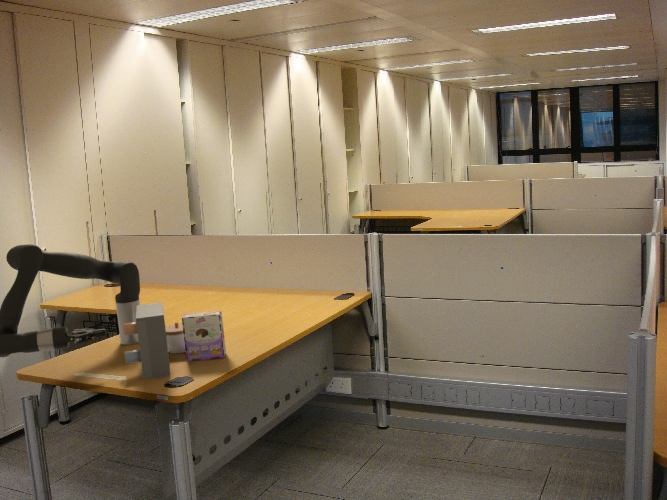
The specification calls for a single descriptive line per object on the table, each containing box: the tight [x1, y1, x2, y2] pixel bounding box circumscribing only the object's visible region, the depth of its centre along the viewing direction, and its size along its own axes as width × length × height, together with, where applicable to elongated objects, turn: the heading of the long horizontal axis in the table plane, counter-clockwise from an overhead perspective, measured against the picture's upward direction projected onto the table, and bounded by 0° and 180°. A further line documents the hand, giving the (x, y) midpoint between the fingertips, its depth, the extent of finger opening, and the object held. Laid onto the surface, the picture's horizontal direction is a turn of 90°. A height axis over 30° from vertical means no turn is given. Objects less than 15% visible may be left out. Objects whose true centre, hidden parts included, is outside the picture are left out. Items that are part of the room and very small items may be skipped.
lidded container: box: [165, 321, 186, 354], centre depth 253 cm, size 13×13×11 cm
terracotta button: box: [124, 322, 137, 335], centre depth 235 cm, size 6×4×4 cm, turn 105°
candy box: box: [181, 310, 227, 362], centre depth 240 cm, size 14×6×16 cm, turn 92°
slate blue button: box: [124, 349, 141, 364], centre depth 225 cm, size 6×4×4 cm, turn 105°
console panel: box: [136, 301, 171, 380], centre depth 232 cm, size 9×22×21 cm, turn 15°
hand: (105, 331), depth 233 cm, fingers closed
